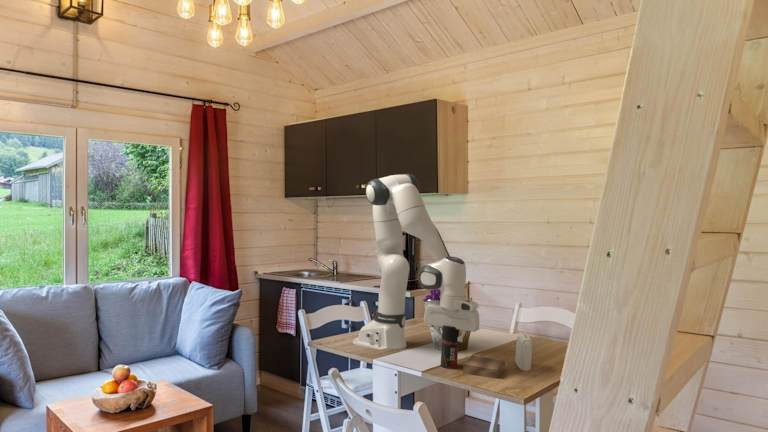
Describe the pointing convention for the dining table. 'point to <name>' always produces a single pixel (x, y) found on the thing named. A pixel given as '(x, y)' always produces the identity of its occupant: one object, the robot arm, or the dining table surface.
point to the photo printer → (523, 352)
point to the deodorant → (449, 347)
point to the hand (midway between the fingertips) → (450, 339)
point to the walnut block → (484, 367)
